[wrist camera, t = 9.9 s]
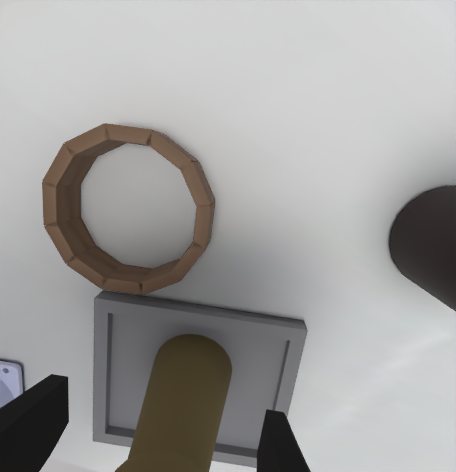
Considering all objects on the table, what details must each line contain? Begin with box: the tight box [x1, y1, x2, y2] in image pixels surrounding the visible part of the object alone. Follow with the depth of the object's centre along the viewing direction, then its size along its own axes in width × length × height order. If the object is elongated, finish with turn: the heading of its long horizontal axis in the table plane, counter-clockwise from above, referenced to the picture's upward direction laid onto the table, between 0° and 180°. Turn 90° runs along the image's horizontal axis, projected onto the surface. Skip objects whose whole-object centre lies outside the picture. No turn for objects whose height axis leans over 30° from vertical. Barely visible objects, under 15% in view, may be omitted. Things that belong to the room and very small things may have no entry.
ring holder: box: [42, 123, 215, 295], centre depth 18 cm, size 10×10×2 cm
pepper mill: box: [115, 334, 232, 472], centre depth 16 cm, size 6×6×11 cm
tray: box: [93, 291, 307, 468], centre depth 21 cm, size 15×13×1 cm
